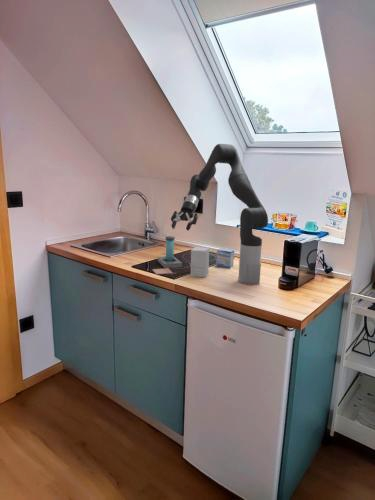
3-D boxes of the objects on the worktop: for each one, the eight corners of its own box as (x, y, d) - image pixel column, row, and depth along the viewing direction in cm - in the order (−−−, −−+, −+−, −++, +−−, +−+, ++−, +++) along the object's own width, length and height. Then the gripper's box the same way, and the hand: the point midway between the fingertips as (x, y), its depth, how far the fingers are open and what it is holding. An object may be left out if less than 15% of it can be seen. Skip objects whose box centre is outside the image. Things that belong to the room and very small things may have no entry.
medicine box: (215, 266, 194) (216, 249, 192) (219, 264, 198) (220, 248, 196) (230, 268, 190) (231, 251, 188) (233, 266, 194) (234, 250, 192)
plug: (175, 264, 192) (175, 237, 189) (166, 265, 191) (166, 238, 188) (172, 262, 196) (173, 236, 193) (164, 263, 195) (164, 236, 192)
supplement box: (208, 273, 181) (209, 247, 178) (205, 277, 174) (206, 251, 171) (193, 271, 183) (194, 246, 180) (189, 276, 176) (190, 249, 173)
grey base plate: (182, 267, 189) (182, 263, 188) (164, 269, 186) (164, 264, 185) (173, 260, 202) (174, 256, 201) (157, 261, 199) (157, 257, 198)
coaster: (172, 274, 178) (172, 272, 178) (156, 275, 176) (156, 273, 175) (168, 269, 185) (168, 268, 185) (152, 270, 183) (152, 269, 183)
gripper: (176, 199, 207) (165, 223, 199) (200, 201, 201) (189, 225, 193) (180, 208, 212) (170, 231, 205) (203, 210, 206) (194, 234, 199)
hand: (179, 228), depth 199 cm, fingers open, 8 cm apart
